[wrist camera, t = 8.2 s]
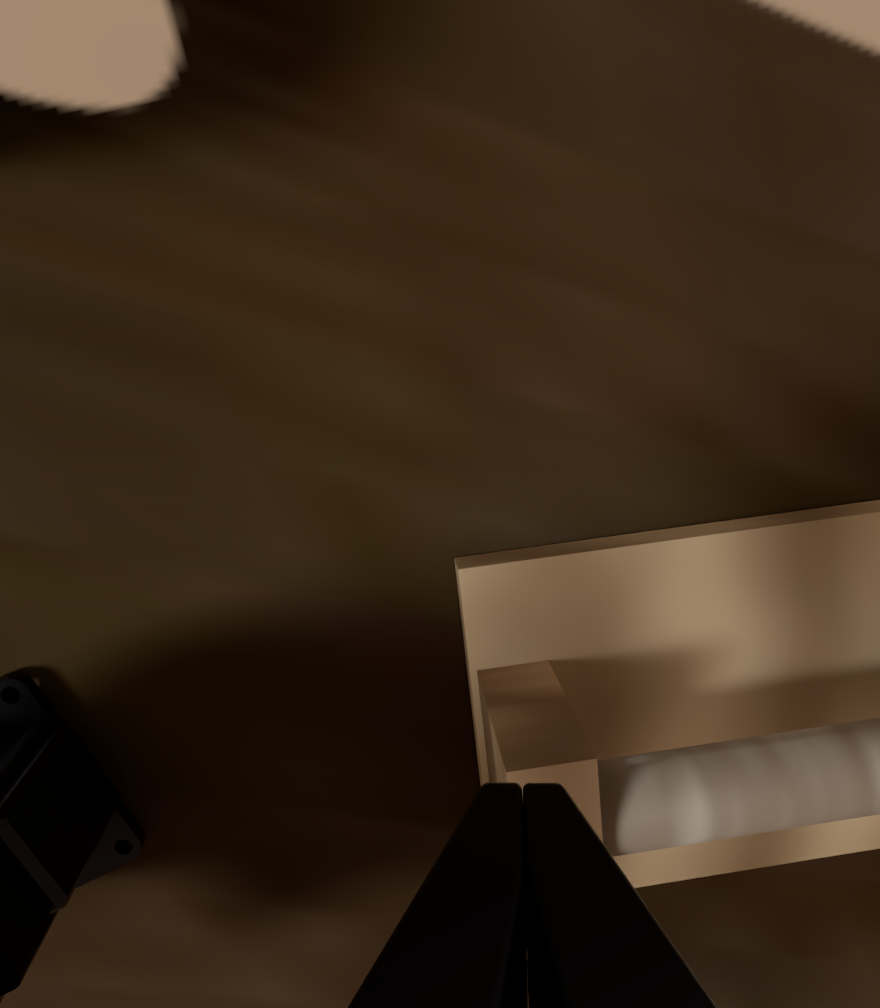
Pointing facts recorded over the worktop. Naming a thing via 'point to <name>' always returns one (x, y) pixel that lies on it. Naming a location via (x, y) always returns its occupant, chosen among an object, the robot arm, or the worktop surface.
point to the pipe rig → (689, 686)
